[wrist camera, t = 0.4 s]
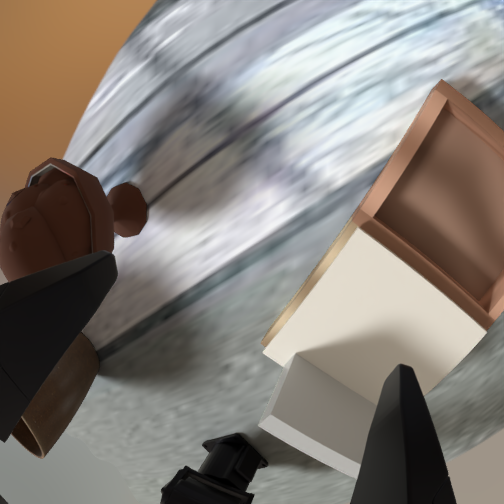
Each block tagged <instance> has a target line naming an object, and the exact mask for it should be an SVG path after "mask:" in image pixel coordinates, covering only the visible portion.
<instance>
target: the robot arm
mask: <svg viewBox="0 0 504 504" xmlns="http://www.w3.org/2000/svg"><path fill="white" fill-rule="evenodd" d="M117 276H118V271H117V266H116V260H115V256H114V255H113V254H112V253H110V252H108V251H105V250H101V251H98V252H95V253H92V254H89V255H86V256H83V257H80V258H77V259H74V260H71V261H68V262H65V263H62V264H59V265H56V266H53V267H50V268H47V269H44V270H41V271H38V272H35V273H33V274H30V275H27V276H24V277H21V278H18V279H16V280H13V281H10V283H9V282H7V283H5V284H2V285H0V440H1V441H3V442H4V443H5V442H6V440H7V439H8V438H9V436H10V434H11V433H12V431H13V429H14V428H15V426H16V425H17V423H18V421H19V420H20V418H21V417H22V415H23V413H24V412H25V410H26V409H27V407H28V406H29V404H30V403H31V401H32V399H33V398H34V396H35V395H36V393H37V392H38V391H39V389H40V388H41V386H42V385H43V383H44V382H45V380H46V379H47V377H48V376H49V375H50V373H51V372H52V370H53V369H54V367H55V366H56V365H57V363H58V362H59V360H60V359H61V358H62V356H63V355H64V354H65V352H66V351H67V349H68V348H69V347H70V345H71V344H72V343H73V341H74V340H75V339H76V337H77V336H78V335H79V333H80V332H81V331H82V329H83V328H84V327H85V325H86V324H87V323H88V322H89V320H90V319H91V318H92V316H93V315H94V313H95V312H96V310H97V309H98V307H99V306H100V304H101V303H102V301H103V299H104V298H105V296H106V295H107V293H108V292H109V290H110V289H111V287H112V286H113V284H114V283H115V281H116V279H117ZM202 446H203V447H204V448H205V449H206V450H207V451H208V452H209V454H208V456H207V457H206V459H205V461H204V462H203V464H202V465H201V467H200V469H199V470H198V472H197V471H195V470H193V469H191V468H190V467H188V466H185V467H184V468H183V469H181V470H179V471H178V472H177V474H176V475H175V477H174V478H173V479H172V480H171V481H170V482H169V483H167V484H166V485H165V486H164V487H163V488H162V489H161V493H162V499H161V502H160V504H251V503H252V500H253V498H254V495H255V494H252V493H247V492H246V490H247V487H248V485H249V483H250V482H252V480H253V477H254V475H255V473H256V471H257V469H260V468H265V467H267V466H268V462H267V461H266V460H265V459H264V458H263V457H261V456H260V455H259V454H258V453H257V452H256V451H255V450H254V449H253V448H252V447H251V446H250V445H249V444H248V443H247V442H246V441H245V440H244V439H243V438H242V437H241V436H240V435H238V434H233V435H229V436H226V437H222V438H218V439H214V440H210V441H206V442H204V443H203V444H202ZM0 504H8V503H7V502H6V501H5V499H4V498H3V497H2V496H1V495H0ZM350 504H457V503H456V499H455V496H454V492H453V488H452V485H451V481H450V477H449V476H448V470H447V467H446V463H445V460H444V456H443V453H442V450H441V446H440V443H439V440H438V437H437V434H436V430H435V427H434V424H433V421H432V418H431V416H430V413H429V410H428V407H427V404H426V401H425V398H424V396H423V393H422V390H421V388H420V385H419V382H418V380H417V377H416V374H415V372H414V369H413V368H412V367H411V366H408V365H405V364H402V363H400V364H398V365H397V366H396V367H395V368H394V370H393V371H392V372H391V373H390V374H389V376H388V377H387V378H386V380H385V382H384V384H383V387H382V390H381V394H380V397H379V401H378V404H377V407H376V411H375V414H374V417H373V420H372V423H371V426H370V430H369V433H368V437H367V441H366V446H365V450H364V454H363V458H362V462H361V466H360V470H359V474H358V478H357V482H356V485H355V489H354V492H353V495H352V499H351V502H350Z"/></svg>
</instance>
